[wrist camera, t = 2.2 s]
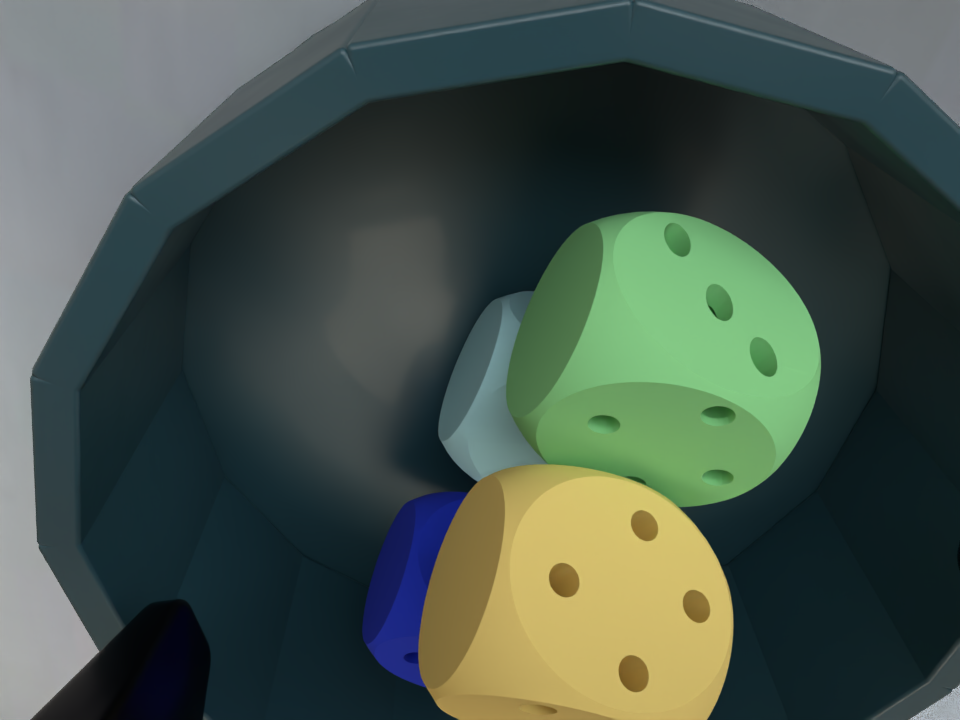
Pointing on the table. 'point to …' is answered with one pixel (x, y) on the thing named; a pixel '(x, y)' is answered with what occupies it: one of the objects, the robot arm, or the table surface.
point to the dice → (597, 480)
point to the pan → (457, 306)
